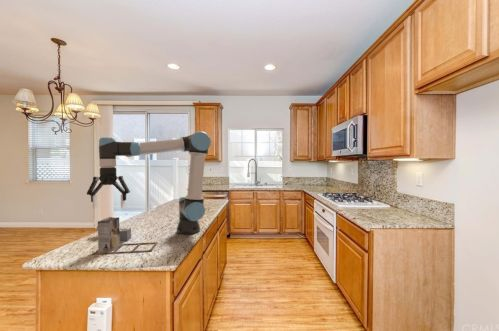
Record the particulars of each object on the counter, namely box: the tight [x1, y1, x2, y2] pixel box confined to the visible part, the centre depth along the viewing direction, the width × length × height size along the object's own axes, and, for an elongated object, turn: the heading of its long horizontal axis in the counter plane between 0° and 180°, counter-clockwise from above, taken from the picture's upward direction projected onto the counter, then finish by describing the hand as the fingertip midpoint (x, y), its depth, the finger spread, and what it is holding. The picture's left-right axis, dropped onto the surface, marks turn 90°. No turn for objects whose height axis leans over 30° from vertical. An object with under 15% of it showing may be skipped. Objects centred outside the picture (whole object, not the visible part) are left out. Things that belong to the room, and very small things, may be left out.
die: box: [119, 227, 132, 243], centre depth 138 cm, size 6×6×6 cm
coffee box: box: [97, 217, 121, 253], centre depth 123 cm, size 9×6×16 cm
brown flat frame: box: [92, 241, 158, 256], centre depth 124 cm, size 28×13×1 cm, turn 98°
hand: (109, 207), depth 123 cm, fingers open, 13 cm apart
